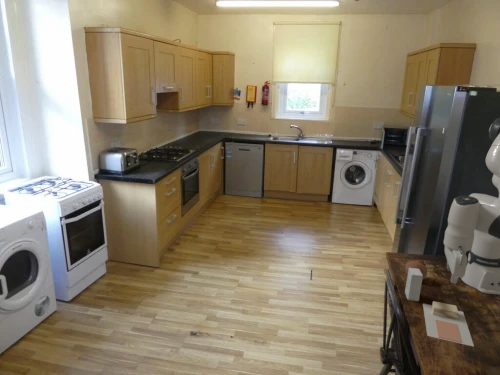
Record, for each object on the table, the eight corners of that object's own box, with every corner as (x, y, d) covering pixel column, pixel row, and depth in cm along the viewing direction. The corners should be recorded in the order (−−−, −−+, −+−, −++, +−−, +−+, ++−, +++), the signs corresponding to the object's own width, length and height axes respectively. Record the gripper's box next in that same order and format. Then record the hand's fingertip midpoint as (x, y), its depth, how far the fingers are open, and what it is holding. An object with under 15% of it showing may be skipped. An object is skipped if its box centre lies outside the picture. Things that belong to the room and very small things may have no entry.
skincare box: (418, 302, 141) (423, 276, 138) (407, 301, 142) (411, 274, 139) (415, 294, 147) (419, 268, 144) (404, 292, 148) (408, 267, 144)
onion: (417, 282, 162) (427, 262, 161) (423, 288, 152) (434, 267, 151) (397, 272, 163) (407, 253, 162) (402, 277, 154) (413, 257, 153)
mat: (462, 313, 135) (463, 311, 135) (473, 348, 117) (474, 346, 117) (422, 304, 140) (422, 303, 140) (427, 337, 122) (427, 335, 122)
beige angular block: (454, 312, 134) (456, 305, 133) (456, 319, 130) (458, 312, 129) (431, 307, 137) (432, 301, 136) (432, 314, 133) (434, 307, 132)
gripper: (474, 255, 115) (466, 292, 119) (463, 232, 133) (456, 265, 137) (452, 252, 117) (445, 288, 121) (444, 229, 135) (438, 262, 139)
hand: (451, 276), depth 129 cm, fingers open, 8 cm apart
